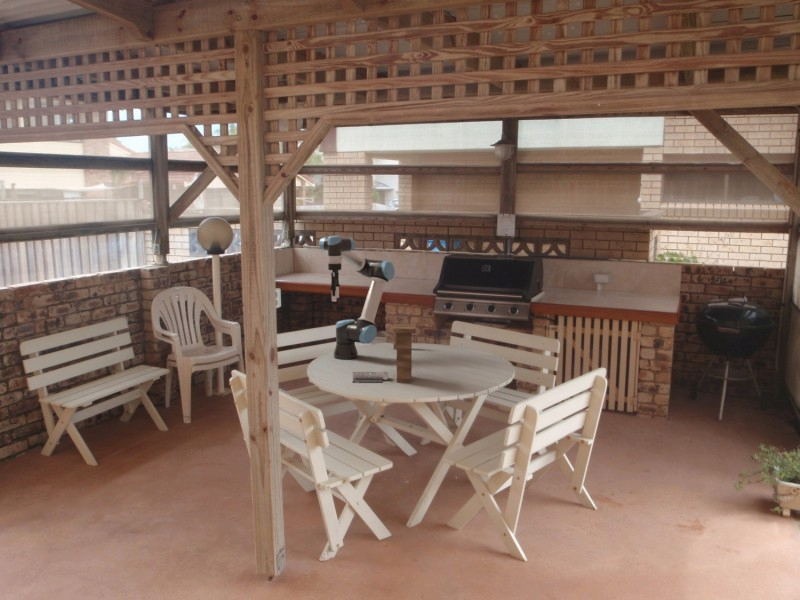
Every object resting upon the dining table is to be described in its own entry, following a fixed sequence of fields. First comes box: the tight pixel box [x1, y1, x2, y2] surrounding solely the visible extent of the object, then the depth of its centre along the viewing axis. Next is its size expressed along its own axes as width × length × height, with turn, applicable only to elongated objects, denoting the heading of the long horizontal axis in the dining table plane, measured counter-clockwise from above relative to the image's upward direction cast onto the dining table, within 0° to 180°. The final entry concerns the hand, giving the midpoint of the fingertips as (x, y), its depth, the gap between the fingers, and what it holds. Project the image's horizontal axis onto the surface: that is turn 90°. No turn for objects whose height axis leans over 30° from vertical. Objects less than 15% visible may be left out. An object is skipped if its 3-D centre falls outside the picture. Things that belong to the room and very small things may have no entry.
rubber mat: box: [352, 378, 383, 384], centre depth 381 cm, size 14×16×1 cm
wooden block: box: [393, 320, 401, 350], centre depth 453 cm, size 4×11×18 cm, turn 81°
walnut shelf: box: [392, 322, 416, 383], centre depth 379 cm, size 16×12×30 cm
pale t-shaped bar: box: [352, 371, 389, 381], centre depth 381 cm, size 6×19×3 cm, turn 89°
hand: (335, 299), depth 399 cm, fingers open, 13 cm apart
